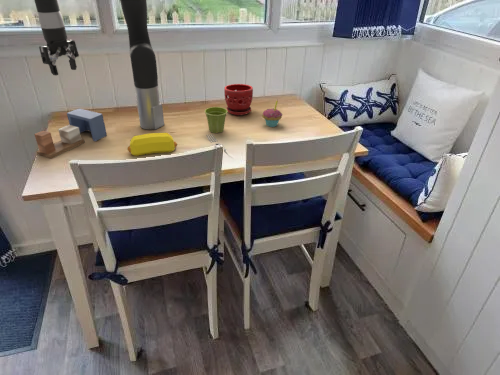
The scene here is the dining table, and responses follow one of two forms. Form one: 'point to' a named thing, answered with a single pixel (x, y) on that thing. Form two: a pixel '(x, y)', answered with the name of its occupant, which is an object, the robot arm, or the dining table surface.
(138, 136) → the hot dog
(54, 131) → the dining table surface
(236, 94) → the plant pot
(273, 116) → the cupcake
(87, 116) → the tunnel
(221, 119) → the plant pot
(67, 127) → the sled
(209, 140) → the fork
